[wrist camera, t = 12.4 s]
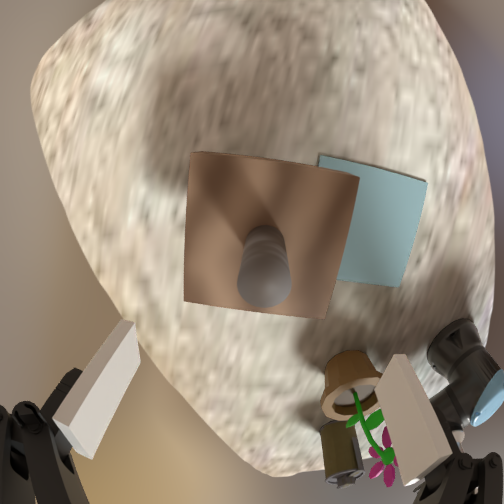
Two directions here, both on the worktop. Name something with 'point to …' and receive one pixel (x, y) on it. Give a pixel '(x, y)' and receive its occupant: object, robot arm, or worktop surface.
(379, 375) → the flowerpot
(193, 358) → the worktop surface
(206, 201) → the lid
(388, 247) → the mat
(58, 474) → the robot arm
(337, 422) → the canister
